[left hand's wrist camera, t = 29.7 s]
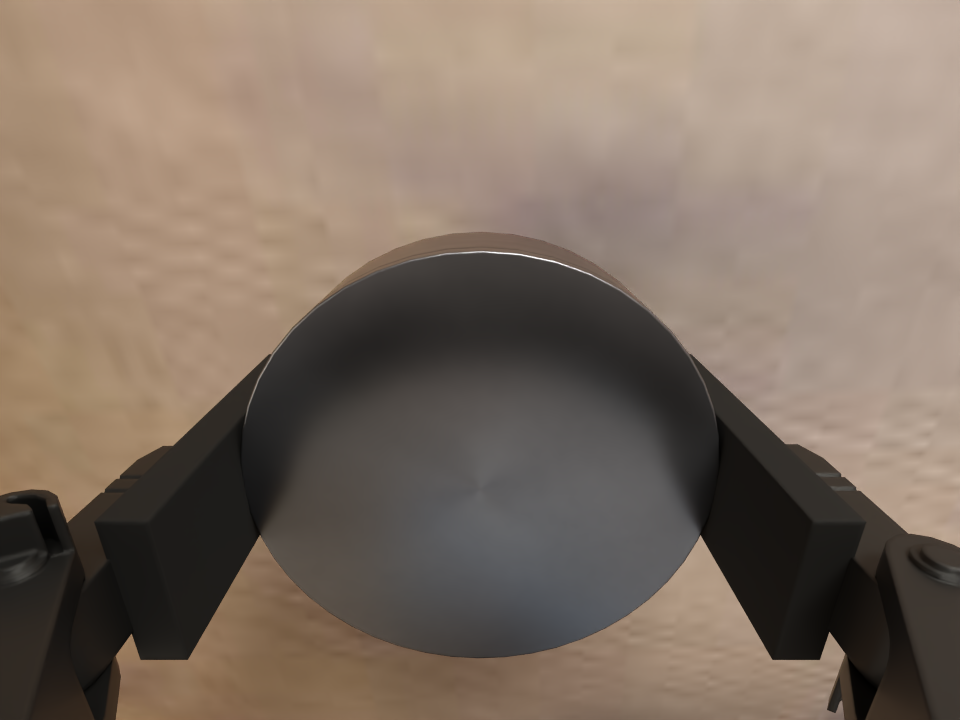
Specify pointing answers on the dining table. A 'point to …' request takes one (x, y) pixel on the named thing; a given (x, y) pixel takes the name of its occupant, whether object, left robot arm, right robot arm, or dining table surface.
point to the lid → (480, 448)
